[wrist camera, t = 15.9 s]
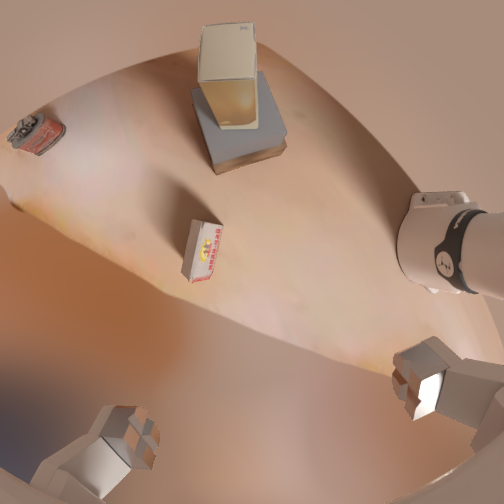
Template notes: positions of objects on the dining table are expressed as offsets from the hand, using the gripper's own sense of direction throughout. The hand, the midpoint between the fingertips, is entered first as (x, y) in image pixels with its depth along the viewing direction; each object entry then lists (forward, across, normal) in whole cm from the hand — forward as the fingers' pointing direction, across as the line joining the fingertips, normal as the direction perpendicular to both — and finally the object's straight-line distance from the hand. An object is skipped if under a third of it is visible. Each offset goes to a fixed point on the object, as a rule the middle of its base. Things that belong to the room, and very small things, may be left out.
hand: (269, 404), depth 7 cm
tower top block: (+30, -2, -15) cm, 33 cm away
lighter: (+34, +31, -26) cm, 53 cm away
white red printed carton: (+32, +7, 0) cm, 33 cm away
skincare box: (+25, -2, -16) cm, 29 cm away
